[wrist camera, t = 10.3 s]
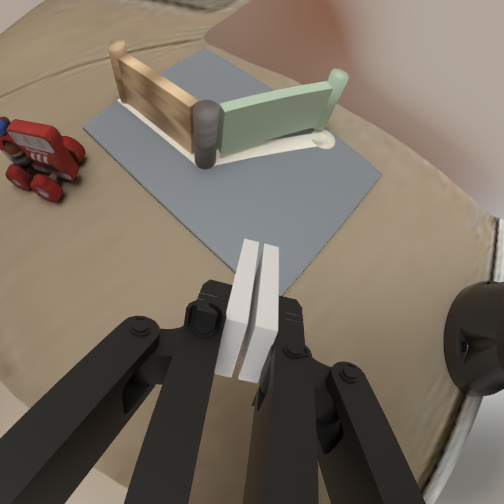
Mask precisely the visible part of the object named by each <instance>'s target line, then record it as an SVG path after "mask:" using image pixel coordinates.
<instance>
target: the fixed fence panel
mask: <svg viewBox="0 0 504 504" xmlns="http://www.w3.org/2000/svg"><path fill="white" fill-rule="evenodd" d="M108 50H109V55H110V59H111V63H112V67H113V72H114V76H115V80H116V84H117V88H118V91H119V95H120V99H121V102H122V103H124V104H129V105H130V106H132V107H133V108H134V109H135V110H137V111H138V112H139V113H140V114H142V115H143V116H144V117H145V118H147V119H148V120H149V121H150V122H152V123H153V124H154V125H155V126H157V127H158V128H159V129H160V130H162V131H163V132H164V133H165V134H167V135H168V136H169V137H170V138H172V139H173V140H174V141H175V142H176V143H178V144H179V145H180V146H181V147H183V148H184V149H185V150H186V151H187V152H189V153H190V154H191V155H192V154H194V157H195V164H196V165H197V166H198V167H199V168H201V169H210V168H212V167H213V166H214V164H215V163H216V153H217V137H218V122H219V105H218V104H217V103H216V102H214V101H211V100H202V101H199V100H197V99H196V98H194V97H193V96H191V95H190V94H188V93H187V92H185V91H184V90H183V89H181V88H180V87H178V86H177V85H175V84H174V83H172V82H171V81H169V80H168V79H166V78H164V77H163V76H161V75H160V74H158V73H157V72H155V71H154V70H152V69H151V68H149V67H147V66H146V65H144V64H143V63H141V62H139V61H138V60H136V59H135V58H133V57H131V56H130V55H128V54H127V52H126V46H125V41H124V40H122V39H117V40H114V41H112V42H110V43H109V44H108Z"/></svg>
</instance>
